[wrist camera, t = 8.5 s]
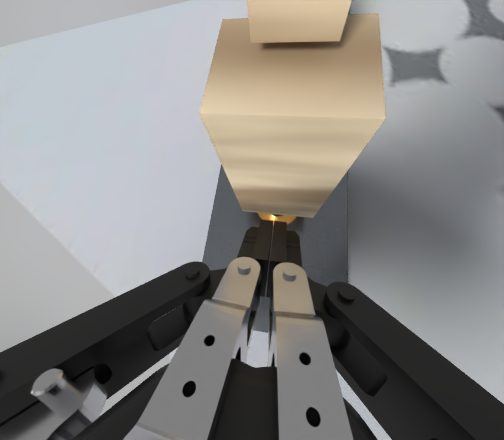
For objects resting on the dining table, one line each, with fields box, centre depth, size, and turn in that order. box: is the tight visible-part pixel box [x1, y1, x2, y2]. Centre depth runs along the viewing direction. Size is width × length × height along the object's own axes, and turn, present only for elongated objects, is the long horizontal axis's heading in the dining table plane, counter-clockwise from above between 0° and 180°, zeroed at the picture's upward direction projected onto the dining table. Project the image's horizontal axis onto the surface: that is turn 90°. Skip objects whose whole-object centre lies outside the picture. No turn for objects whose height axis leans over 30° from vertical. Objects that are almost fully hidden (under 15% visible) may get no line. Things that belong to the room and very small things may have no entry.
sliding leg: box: [199, 0, 386, 218], centre depth 12 cm, size 20×5×12 cm, turn 173°
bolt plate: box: [202, 164, 347, 333], centre depth 12 cm, size 27×11×12 cm, turn 173°
